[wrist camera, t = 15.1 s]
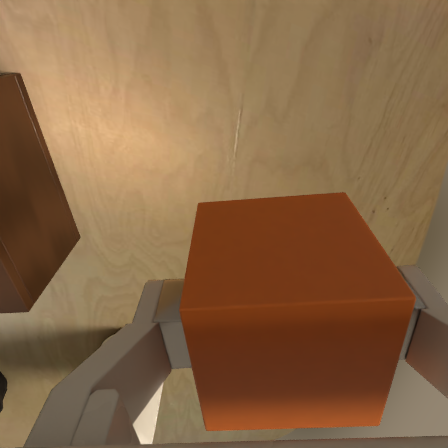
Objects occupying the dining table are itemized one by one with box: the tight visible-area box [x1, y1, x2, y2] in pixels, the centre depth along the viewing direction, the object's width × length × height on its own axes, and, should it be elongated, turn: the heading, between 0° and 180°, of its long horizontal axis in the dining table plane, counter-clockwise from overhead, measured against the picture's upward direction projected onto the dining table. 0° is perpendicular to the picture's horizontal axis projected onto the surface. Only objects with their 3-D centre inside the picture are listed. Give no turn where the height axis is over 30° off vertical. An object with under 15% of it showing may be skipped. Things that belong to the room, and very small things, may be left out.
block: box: [179, 192, 416, 431], centre depth 9 cm, size 4×4×4 cm
